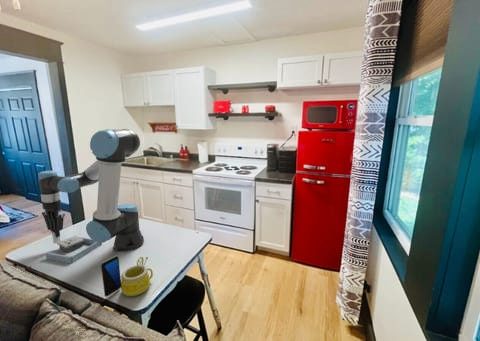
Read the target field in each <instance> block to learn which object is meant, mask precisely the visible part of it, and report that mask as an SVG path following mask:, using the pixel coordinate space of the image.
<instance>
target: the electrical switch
mask: <svg viewBox="0 0 480 341" xmlns="http://www.w3.org/2000/svg"><path fill="white" fill-rule="evenodd" d="M80 237H81V236H77V235H73V236H71V237H68V238H66V239H63V240H60V242H58V243H56V245H58V246H59V249H60V250H61V251H64V252H67V253H69V252H71V251H74V250H77V249H79V248H81V247H83V246H84V245H83V243H82V242H83V241H84V239H82V238H80Z"/></svg>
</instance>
